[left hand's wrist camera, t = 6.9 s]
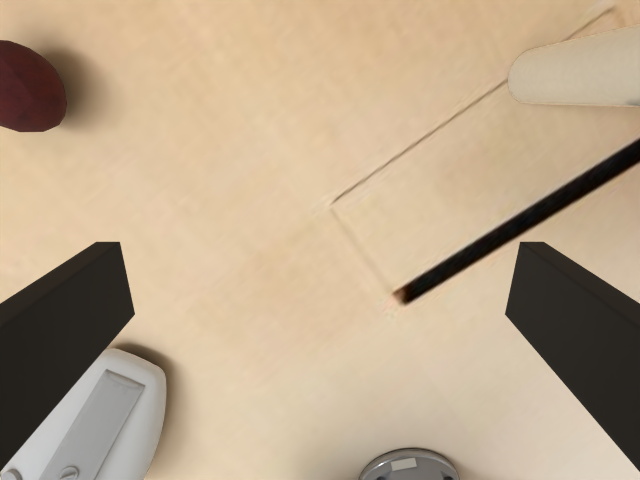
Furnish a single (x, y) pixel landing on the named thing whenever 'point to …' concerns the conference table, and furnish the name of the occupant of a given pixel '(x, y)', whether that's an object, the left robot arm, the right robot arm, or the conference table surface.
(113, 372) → the projector
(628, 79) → the jar
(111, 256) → the left robot arm
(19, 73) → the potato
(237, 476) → the conference table surface
